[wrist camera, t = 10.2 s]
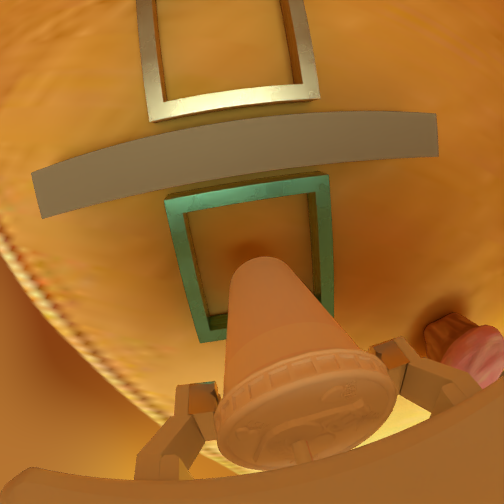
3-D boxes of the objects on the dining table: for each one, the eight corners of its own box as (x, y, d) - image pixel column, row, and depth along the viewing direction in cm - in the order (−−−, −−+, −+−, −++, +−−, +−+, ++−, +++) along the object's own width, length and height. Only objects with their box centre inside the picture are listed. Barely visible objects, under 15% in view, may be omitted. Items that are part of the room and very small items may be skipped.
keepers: (286, -29, 15) (293, -41, 13) (325, 304, 25) (333, 317, 23) (140, -12, 14) (135, -24, 12) (200, 328, 24) (199, 343, 22)
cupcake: (468, 286, 27) (528, 333, 18) (460, 342, 30) (506, 391, 21) (406, 318, 27) (463, 382, 18) (404, 373, 30) (445, 433, 21)
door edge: (404, 113, 20) (436, 113, 16) (407, 151, 21) (438, 156, 17) (59, 165, 18) (31, 172, 14) (67, 204, 19) (42, 219, 16)
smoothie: (181, 279, 16) (176, 566, 4) (278, 208, 15) (458, 479, 3) (249, 345, 19) (301, 563, 7) (334, 290, 18) (459, 495, 6)
